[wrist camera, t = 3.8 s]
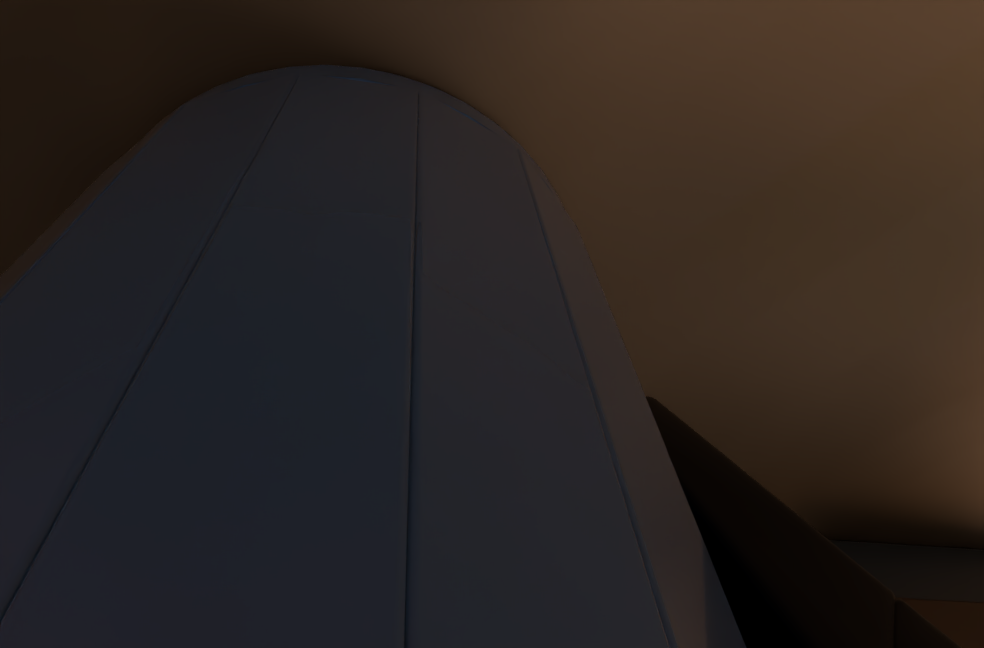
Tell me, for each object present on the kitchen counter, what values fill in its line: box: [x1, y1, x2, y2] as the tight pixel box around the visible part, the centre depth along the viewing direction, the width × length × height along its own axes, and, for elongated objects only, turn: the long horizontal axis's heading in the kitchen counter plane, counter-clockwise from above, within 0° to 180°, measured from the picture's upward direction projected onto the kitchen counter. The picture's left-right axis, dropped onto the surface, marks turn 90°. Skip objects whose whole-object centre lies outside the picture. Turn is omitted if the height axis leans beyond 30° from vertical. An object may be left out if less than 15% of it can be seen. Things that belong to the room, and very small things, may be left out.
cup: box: [0, 65, 747, 648], centre depth 7 cm, size 6×6×8 cm
